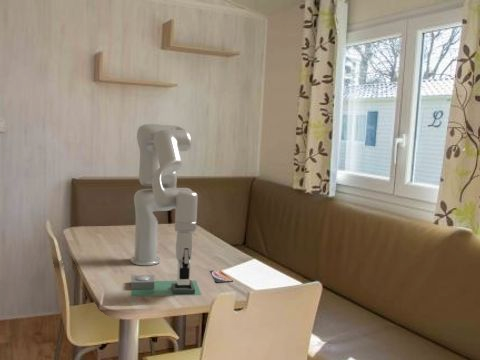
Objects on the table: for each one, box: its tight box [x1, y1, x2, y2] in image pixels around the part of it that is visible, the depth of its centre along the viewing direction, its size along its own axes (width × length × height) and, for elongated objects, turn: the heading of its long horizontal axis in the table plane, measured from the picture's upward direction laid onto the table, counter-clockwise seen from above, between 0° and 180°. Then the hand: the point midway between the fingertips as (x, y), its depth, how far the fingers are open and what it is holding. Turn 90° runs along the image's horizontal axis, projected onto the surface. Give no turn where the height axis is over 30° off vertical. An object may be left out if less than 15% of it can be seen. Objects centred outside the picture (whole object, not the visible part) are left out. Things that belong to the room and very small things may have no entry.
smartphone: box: [209, 269, 234, 284], centre depth 200 cm, size 8×1×15 cm
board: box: [130, 274, 202, 297], centre depth 180 cm, size 16×24×4 cm, turn 102°
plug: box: [176, 259, 191, 285], centre depth 177 cm, size 4×4×8 cm
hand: (183, 276), depth 178 cm, fingers closed on plug, 4 cm apart
